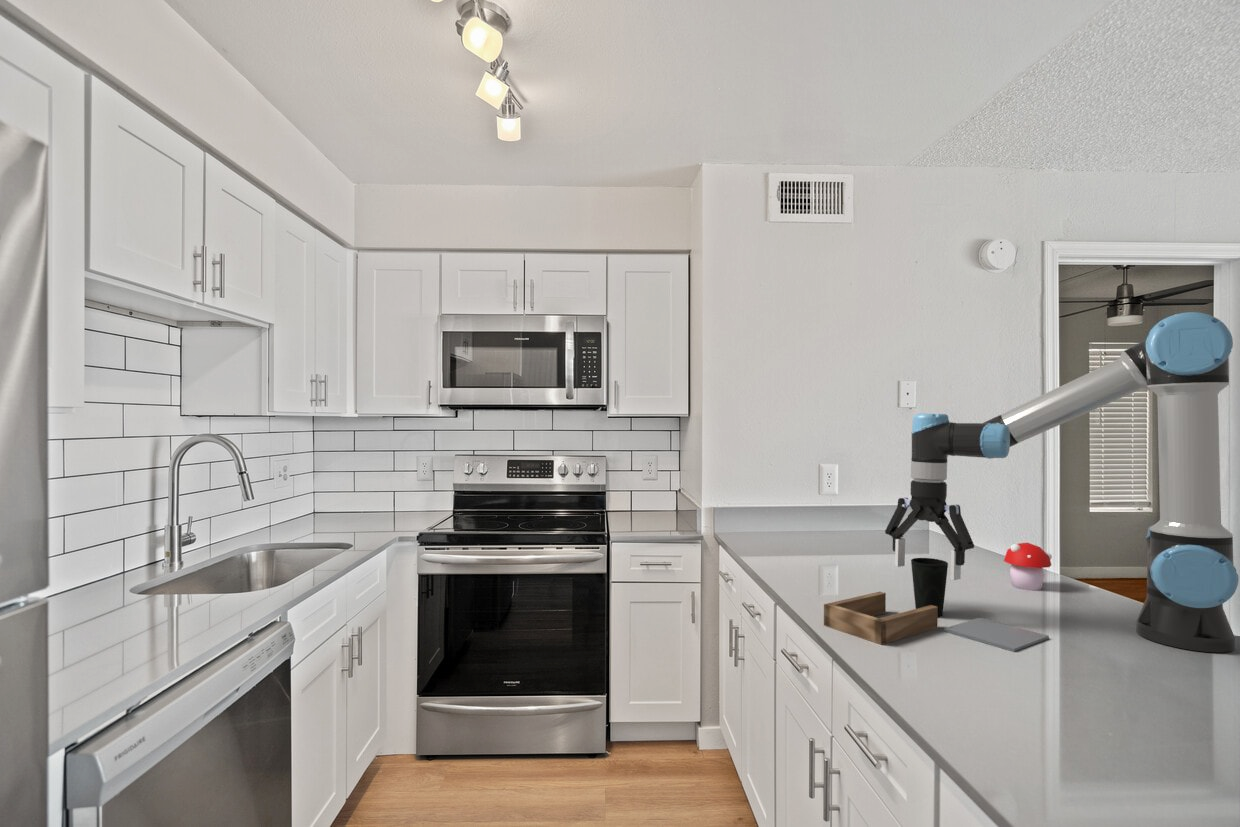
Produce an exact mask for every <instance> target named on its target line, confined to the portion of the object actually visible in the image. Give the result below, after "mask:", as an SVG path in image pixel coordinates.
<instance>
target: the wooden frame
mask: <svg viewBox="0 0 1240 827" xmlns="http://www.w3.org/2000/svg"><path fill="white" fill-rule="evenodd" d="M886 596H887V594H886V592H883V591H876V592H871V593H868V594H863V595H858V596H854V597H850V598H846V599H842V600H837V601H833V602H827V603H824V604H823V626H826V627H828V628H831V629H834V630H837V631H839V632H843V633H846V634H849V635H851V636H855V637H857V638H860V639H863V640H866V641H869V642H872V643H875V644H878V645H884V644H889V643H891V642H895V641H898V640H901V639H904V638H908V637H911V636H914V635H917V634H922V633H925V632H928V631H930V630H934V629H935V630H936V629H938V623H939V622H938V618H939V617H938V607H937V606H933V605H929V606H925V607H921V608H918V609H916V608H914V609H910V610H907V611H903V612H900V613H896V614H891V615H888V616H884V617H880V618H878V617H875V616H878V615H881V614H885V613H886V610H887V609H886V598H887V597H886Z"/></svg>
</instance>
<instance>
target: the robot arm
mask: <svg viewBox="0 0 1240 827" xmlns="http://www.w3.org/2000/svg"><path fill="white" fill-rule="evenodd" d="M1233 341H1234V339H1233V336H1232V333H1231V331H1230V330H1229V328H1228V327H1227V325H1226V323H1224V322H1223V321H1221V320H1220V319H1219V318H1217V317H1215V316H1213V315H1211V314H1208V313H1204V312H1197V311H1196V312H1195V311H1190V312H1189V311H1188V312H1181V313H1176V314H1174V315H1170V316H1167V317H1165V318H1164V319H1161V320H1160V321H1159V322H1157V323H1156V324H1155V325H1154V326H1153V327H1152V328H1151V329H1150V331H1149V333H1148V334H1147V336H1146V337H1145V339H1143V340H1142V341H1140V342H1138V343H1136V344H1135V345H1134V346H1131V347H1129V348H1127V349H1125V350H1123V351H1121V353H1120V356H1119V358H1117V359H1115V360H1113V361H1111V362H1109V363H1107V364H1104V365H1103V366H1101V367H1099V368H1096V369H1094V370H1092V371H1091V372H1088V373H1085V374H1084V375H1081V376H1079V377H1077V378H1075V379H1073V380H1071V381H1069V382H1066V383H1065V384H1063V385H1061V386H1058V387H1057V388H1056V387H1055V388H1054V389H1052V390H1051V391H1048V392H1046V393H1044V394H1042V395H1039V396H1038V397H1035V398H1034V399H1031V400H1029V401H1027V402H1025V403H1022V404H1020V405H1019V406H1016V407H1014V408H1012V409H1010V410H1008V411H1006V412H1004V413H1001V414H1000V415H997V416H995V417H993V418H991V419H988V420H986V421H984V422H981V423H980V422H979V423H977V422H976V423H975V422H973V423H972V422H960V423H959V422H953V421H951V422H950V420H949V416H948V414H947V413H916V414H915V415H914V416H913V417H912V427H911V428H912V430H911V458H910V460H911V461H910V462H911V465H910V478H911V479H912V480H911V481H910V496H911V499H909V498H908V497H899V498H898V500H897V506H896V509H895V510H894V512H893V515H892V516H891V519H890V521H889V523H888V524H887V527H886V528H885V531H884V533H885V534H886V535H889V536H890V537H891V538H892V551H893V552H894V567H896V568H897V567H898V568H901V567H905V562H906V560H905V559H906V538H904V535H905V534H906V533H907V532H908V531H909V530H910V529H911V528H912V527H913V525H914V524H915V523H916V522H917V521H926V522H930V523H935V524H936V525H937V526H939V528H940V530H941V531H942V532H943V534H944V535H945V537H946V538H947V540H948V541H949V543H950V544H951V545H952V547H953V548H954V549H952V550H950V579H949V580H951V581H958V580H961V575H962V573H961V572H962V568H961V567H962V566H964V564H965V562H966V559H965V558H966V557H965V556H966V554H965V553H966V551H967V550H971V549H974V548H975V544H974V542H973V539H972V537H971V535H970V533H969V530H968V528H967V525H966V523H965V521H964V518H963V517H962V513H961V505H959V504H947V501H946V500H947V494H948V492H947V491H948V490H947V488H948V485H947V482H945V481H946V480H947V479H948V456H952V457H955V456H956V457H970V458H984V459H985V458H987V459H1005V458H1007V457H1008V455H1009V453H1010V448H1011V447H1013V446H1015V445H1017V444H1020V443H1022V442H1024V441H1026V440H1029V439H1031V438H1033V437H1035V436H1037V435H1040V434H1042V433H1045V432H1046V431H1050V430H1051V429H1054V428H1056V427H1059V426H1060V425H1064V424H1066V423H1067V422H1069V421H1072V420H1074V419H1076V418H1079V417H1081V416H1083V415H1086V414H1088V413H1089V412H1093V411H1094V410H1097V409H1099V408H1102V407H1104V406H1106V405H1108V404H1110V403H1111V404H1112V403H1113V402H1115V401H1117V400H1120V399H1122V398H1125V397H1127V396H1129V395H1131V394H1133V393H1135V392H1138V391H1140V390H1142V391H1143V390H1144V391H1152V392H1153V393H1154V394H1155V395H1156V397H1157V399H1156V400H1157V436H1158V437H1157V438H1158V439H1157V441H1158V446H1157V447H1158V480H1159V481H1158V486H1159V488H1158V490H1159V520H1158V521H1157V522H1156V523H1155V524H1152V525H1150V526H1148V528H1147V534H1146V536H1145V541H1146V543H1147V544H1146V552H1147V553H1146V555H1147V556H1146V561H1147V562H1146V599H1145V600H1144V602H1143V605H1142V608H1141V610H1140V612H1139V614H1138V617H1137V619H1136V621H1135V625H1136V626H1135V627H1136V633H1137V634H1138V635H1139V636H1140V637H1143V638H1145V639H1147V640H1150V641H1152V642H1155V643H1158V644H1162V645H1165V646H1169V647H1173V648H1177V649H1178V648H1179V649H1184V650H1191V651H1198V652H1203V653H1204V652H1206V653H1230V652H1232V651H1234V650H1235V649H1236V638H1235V635H1234V632H1233V629H1232V627H1231V624H1230V621H1229V620H1228V617H1227V615H1226V613H1225V610H1224V606H1223V605H1224V603H1226V602H1228V601H1229V600H1230V599H1231V598H1232V597H1233V596H1234V595H1235V593H1236V591H1237V589H1238V585H1239V580H1240V579H1239V575H1238V573H1237V569H1236V566H1235V565H1234V542H1233V541H1234V539H1233V538H1234V537H1233V536H1234V534H1233V532H1230V531H1229V530H1228V529H1226V527H1224V526H1223V524H1222V516H1221V515H1222V511H1221V510H1222V509H1221V471H1220V470H1221V468H1220V467H1221V466H1220V464H1221V463H1220V461H1221V460H1220V459H1221V458H1220V426H1219V424H1220V422H1219V418H1220V417H1219V395H1220V393H1221V392H1222V391H1223V390H1224V389H1225V388H1227V387H1228V386H1229V385H1230V370H1229V369H1230V362H1229V360H1230V359H1229V356H1230V354H1231V353H1232V349H1233V346H1234V342H1233ZM909 507H910V509H911V512H910V513H909V514H908V515H907V517H906V518H905V519H904V520H903V518H904V516H905V514H906V512H907V510H908V508H909ZM946 512H947V514H948V516H949V517H950V520H951V523H952V524H951V523H950V520H949V518H948V517H947V515H946V514H945V513H946ZM902 520H903V521H902Z"/></svg>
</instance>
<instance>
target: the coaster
mask: <svg viewBox="0 0 1240 827" xmlns="http://www.w3.org/2000/svg"><path fill="white" fill-rule="evenodd" d="M943 632H945V633H949V634H952V635H955V636H960V637H962V638H966V639H969V640H972V641H975V642H979V643H983V644H986V645H990V646H993V647H996V648H1000V649H1004V650H1007V651H1010V652H1013V653H1014V652H1017V651H1019V650H1023V649H1026V648H1028V647H1030V646H1033V645H1036V644H1039V643H1041V642H1043V641H1047V640H1049V639H1050V636H1049V635H1047V634H1044V633H1040V632H1038V631H1037V632H1036V631H1033V630H1029V629H1025V628H1021V627H1016V626H1013V625H1011V624H1010V625H1009V624H1006V623H1002V622H999V621H994V620H990V619H986V618H982V617H977V618H974V619H970V620H967V621H963V622H961V623H957V624H954V625H951V626H947V627H944V628H943Z"/></svg>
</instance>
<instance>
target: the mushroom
mask: <svg viewBox="0 0 1240 827" xmlns="http://www.w3.org/2000/svg"><path fill="white" fill-rule="evenodd" d="M1052 558H1053V556H1052V554H1051V553H1050V552H1046V551H1045V550H1044V549H1043V548H1042V547H1041V546H1038V545H1035V544H1032V543H1030V542H1021V543H1013V544H1012V545H1010V548H1008V549H1006V553H1005V556H1004V560H1003V562H1005V563H1006V564H1009V565H1011V567H1010V570H1009V575H1010V580H1011V585H1012V587H1013V588H1015V589H1019V590H1024V591H1041V590H1042V588H1043V583H1044V576H1045V574H1044V569H1043V568H1050V567H1051V566H1052V562H1051V560H1052Z"/></svg>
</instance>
